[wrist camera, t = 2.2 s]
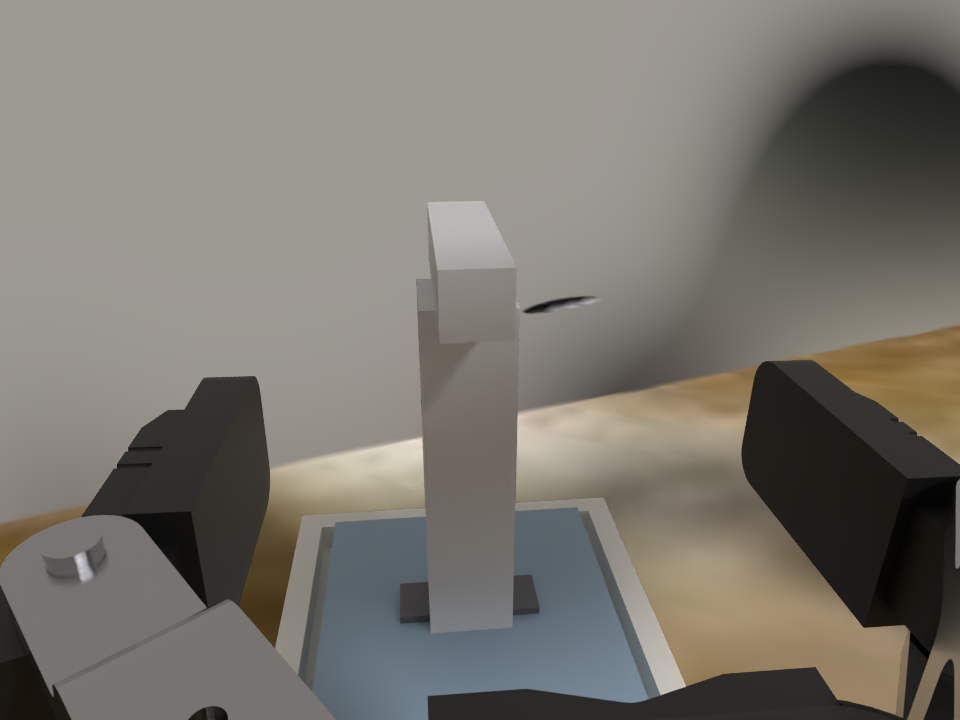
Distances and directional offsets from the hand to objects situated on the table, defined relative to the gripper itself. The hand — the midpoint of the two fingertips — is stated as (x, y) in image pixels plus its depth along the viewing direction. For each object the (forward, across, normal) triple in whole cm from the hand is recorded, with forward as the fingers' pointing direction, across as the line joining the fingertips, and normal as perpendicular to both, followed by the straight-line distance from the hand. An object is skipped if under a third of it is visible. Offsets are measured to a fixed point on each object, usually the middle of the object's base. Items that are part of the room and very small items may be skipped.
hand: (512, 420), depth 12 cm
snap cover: (+11, 0, +16) cm, 20 cm away
